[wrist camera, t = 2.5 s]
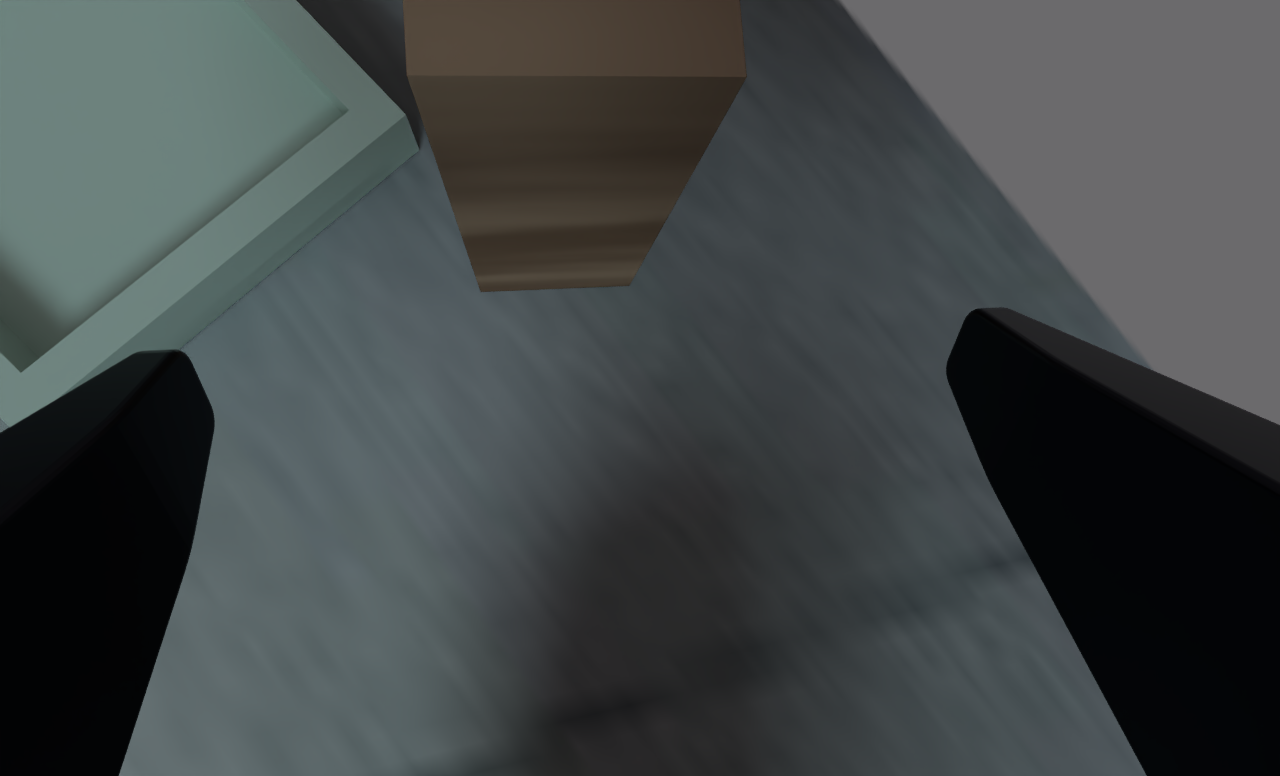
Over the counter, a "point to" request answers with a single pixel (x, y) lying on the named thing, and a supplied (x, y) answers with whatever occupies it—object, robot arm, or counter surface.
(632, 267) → the tan wooden block
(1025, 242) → the counter surface
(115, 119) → the tray
